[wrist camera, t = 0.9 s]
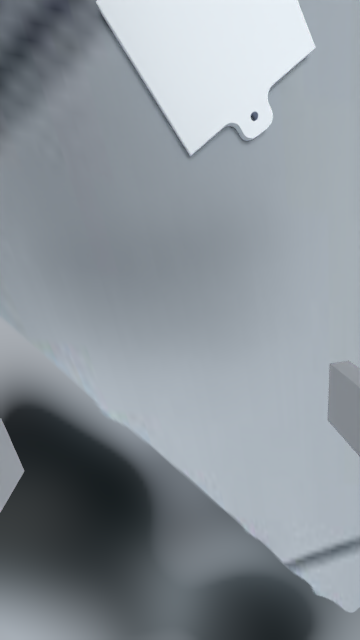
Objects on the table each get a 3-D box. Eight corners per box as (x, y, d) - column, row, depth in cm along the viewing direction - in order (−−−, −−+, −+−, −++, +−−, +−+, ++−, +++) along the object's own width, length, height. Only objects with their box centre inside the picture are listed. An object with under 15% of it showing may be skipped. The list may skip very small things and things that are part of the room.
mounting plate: (80, -19, 22) (72, -37, 20) (211, -181, 18) (214, -219, 17) (203, 179, 28) (205, 178, 27) (317, 86, 25) (327, 78, 23)
